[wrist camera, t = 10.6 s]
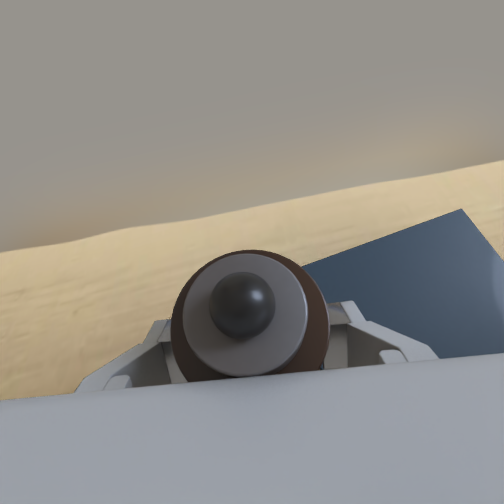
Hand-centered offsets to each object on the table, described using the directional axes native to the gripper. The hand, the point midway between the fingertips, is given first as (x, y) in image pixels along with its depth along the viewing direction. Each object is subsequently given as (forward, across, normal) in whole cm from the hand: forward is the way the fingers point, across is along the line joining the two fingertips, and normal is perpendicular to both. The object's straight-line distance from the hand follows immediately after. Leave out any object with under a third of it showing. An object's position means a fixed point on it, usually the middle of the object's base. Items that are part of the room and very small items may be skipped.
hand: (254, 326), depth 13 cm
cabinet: (+15, -11, +12) cm, 22 cm away
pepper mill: (+6, 0, +7) cm, 9 cm away
